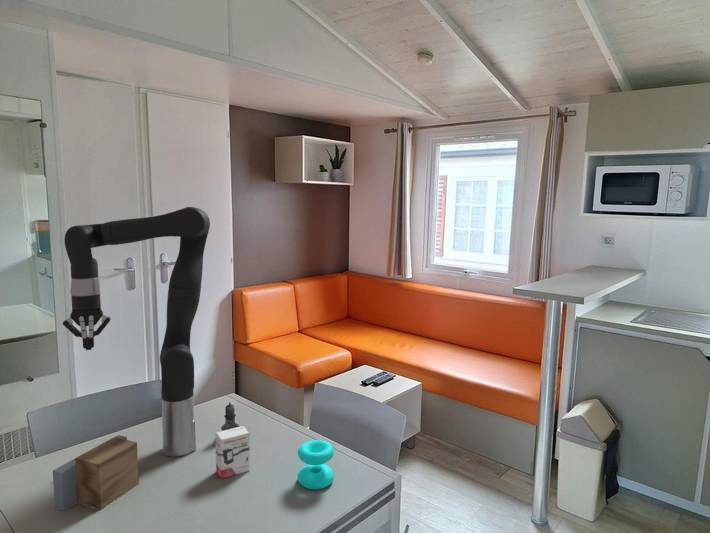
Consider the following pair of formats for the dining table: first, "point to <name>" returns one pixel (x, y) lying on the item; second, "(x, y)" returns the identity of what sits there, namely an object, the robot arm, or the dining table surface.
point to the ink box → (232, 452)
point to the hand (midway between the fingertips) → (88, 349)
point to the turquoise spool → (315, 464)
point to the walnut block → (106, 472)
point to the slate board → (67, 484)
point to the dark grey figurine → (229, 418)
